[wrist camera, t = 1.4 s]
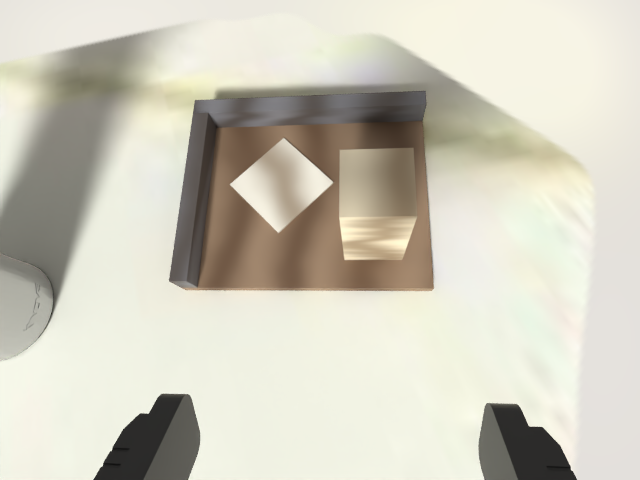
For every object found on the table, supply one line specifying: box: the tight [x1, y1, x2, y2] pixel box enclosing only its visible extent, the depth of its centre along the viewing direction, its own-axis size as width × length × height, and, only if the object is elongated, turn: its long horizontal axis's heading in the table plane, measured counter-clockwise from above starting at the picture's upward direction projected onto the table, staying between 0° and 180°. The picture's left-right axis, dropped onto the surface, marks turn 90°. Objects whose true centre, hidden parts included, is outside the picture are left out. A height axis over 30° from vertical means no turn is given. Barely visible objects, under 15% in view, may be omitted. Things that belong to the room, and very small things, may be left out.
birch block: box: [339, 148, 417, 260], centre depth 32 cm, size 5×5×10 cm
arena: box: [169, 91, 434, 291], centre depth 38 cm, size 22×18×4 cm
